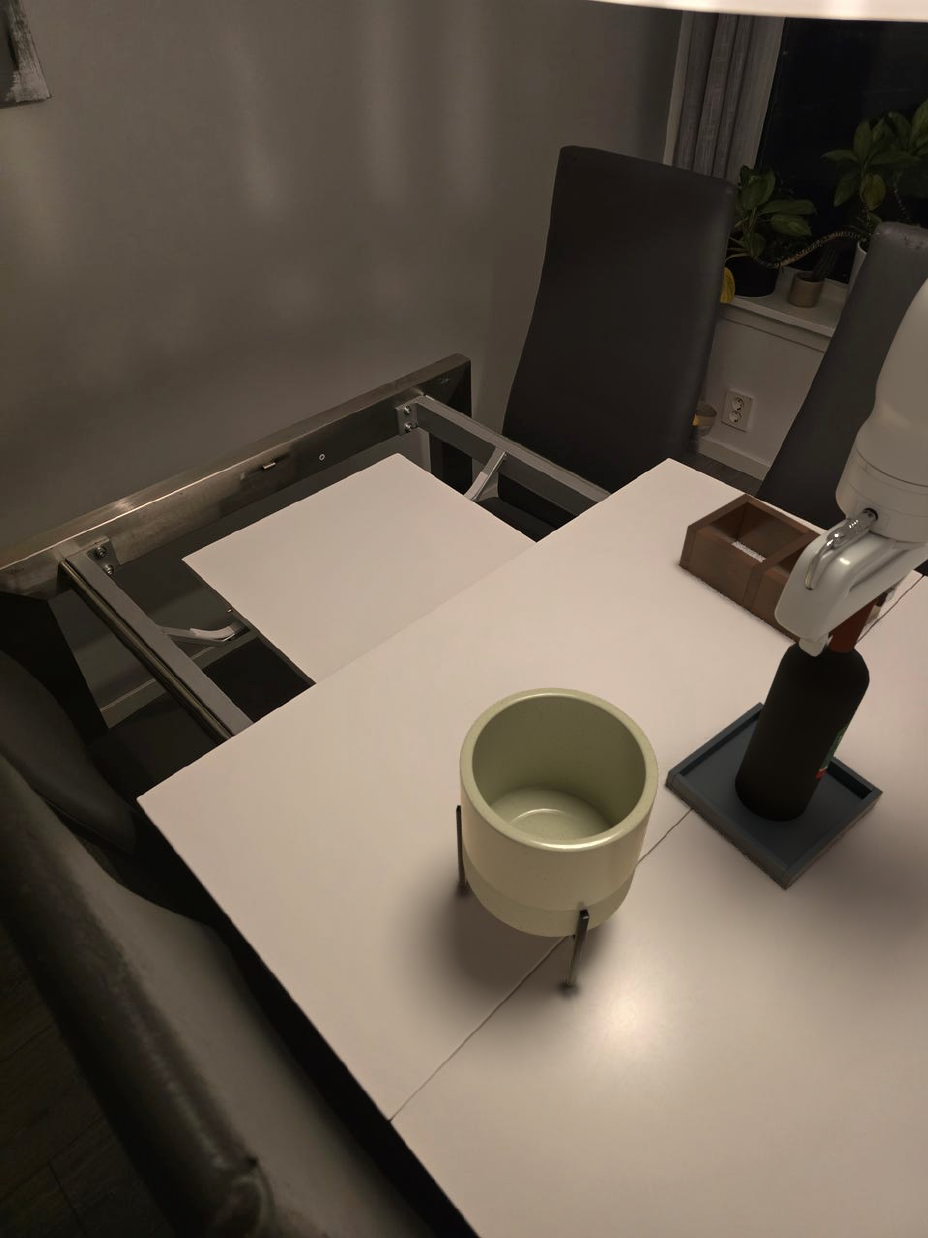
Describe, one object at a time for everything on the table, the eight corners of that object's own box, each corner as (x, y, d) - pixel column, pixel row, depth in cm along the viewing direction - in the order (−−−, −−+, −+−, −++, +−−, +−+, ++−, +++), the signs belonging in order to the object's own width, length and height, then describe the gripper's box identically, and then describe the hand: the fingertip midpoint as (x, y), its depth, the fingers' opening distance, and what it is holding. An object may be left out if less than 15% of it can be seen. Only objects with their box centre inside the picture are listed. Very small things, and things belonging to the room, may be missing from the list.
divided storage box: (877, 616, 104) (897, 576, 99) (821, 658, 99) (839, 618, 94) (734, 531, 117) (745, 492, 113) (678, 565, 112) (687, 525, 107)
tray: (875, 804, 83) (883, 791, 82) (785, 889, 77) (792, 877, 75) (754, 714, 92) (759, 701, 91) (664, 784, 86) (668, 771, 84)
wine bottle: (731, 758, 87) (808, 547, 66) (801, 765, 86) (902, 553, 65) (738, 817, 82) (825, 607, 61) (814, 825, 81) (928, 615, 60)
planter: (656, 895, 76) (703, 754, 60) (551, 1018, 68) (573, 893, 52) (538, 801, 84) (551, 655, 68) (431, 902, 76) (418, 763, 60)
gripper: (863, 566, 51) (803, 704, 60) (1017, 458, 59) (943, 593, 69) (781, 521, 54) (736, 657, 64) (938, 425, 63) (878, 557, 73)
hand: (845, 623), depth 67 cm, fingers open, 8 cm apart
